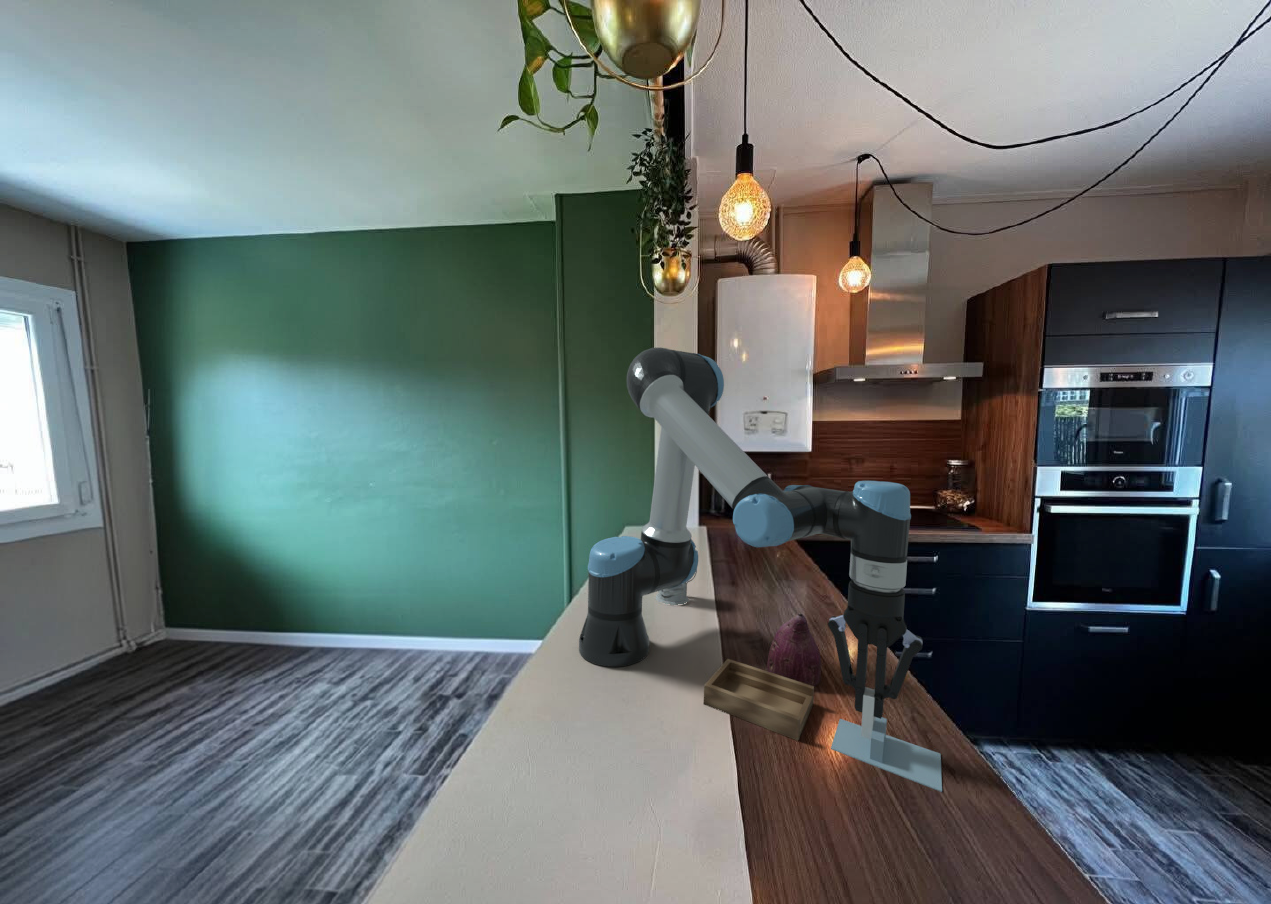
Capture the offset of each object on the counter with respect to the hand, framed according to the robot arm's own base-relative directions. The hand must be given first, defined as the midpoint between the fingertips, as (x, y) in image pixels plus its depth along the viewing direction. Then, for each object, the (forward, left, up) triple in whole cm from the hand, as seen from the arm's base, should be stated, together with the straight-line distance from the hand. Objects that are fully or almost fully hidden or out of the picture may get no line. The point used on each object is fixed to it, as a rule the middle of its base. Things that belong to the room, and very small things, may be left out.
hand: (867, 733), depth 69 cm
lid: (+3, 0, -3) cm, 4 cm away
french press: (-52, +34, -2) cm, 62 cm away
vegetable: (-14, +14, -2) cm, 20 cm away
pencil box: (-17, 0, -2) cm, 17 cm away
